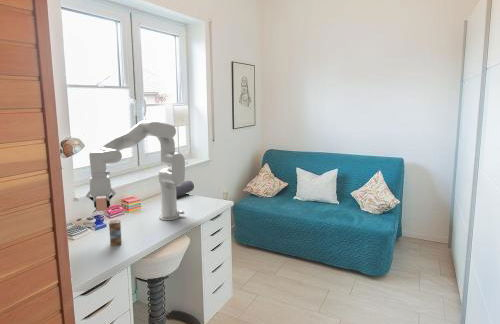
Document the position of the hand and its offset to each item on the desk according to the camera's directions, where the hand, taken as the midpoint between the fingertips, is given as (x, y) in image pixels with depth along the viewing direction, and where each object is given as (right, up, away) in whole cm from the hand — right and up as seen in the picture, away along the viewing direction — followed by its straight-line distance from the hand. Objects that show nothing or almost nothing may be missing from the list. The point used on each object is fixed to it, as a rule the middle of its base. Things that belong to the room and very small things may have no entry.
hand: (102, 207), depth 192 cm
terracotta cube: (0, -1, 0) cm, 1 cm away
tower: (+8, -18, -3) cm, 20 cm away
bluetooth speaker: (+25, -2, +88) cm, 91 cm away
